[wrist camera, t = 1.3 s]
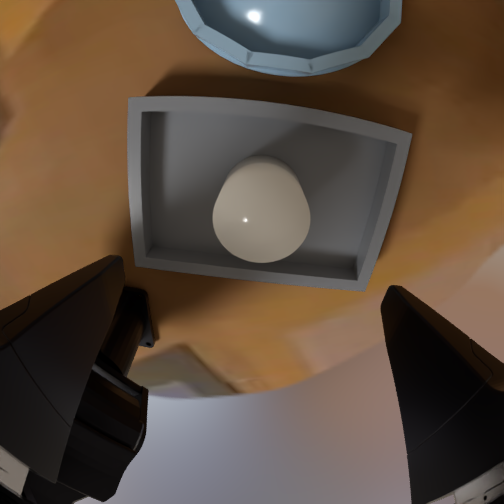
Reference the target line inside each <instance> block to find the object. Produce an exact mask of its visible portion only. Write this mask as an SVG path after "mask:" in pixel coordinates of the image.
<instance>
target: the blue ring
mask: <svg viewBox="0 0 504 504" xmlns="http://www.w3.org/2000/svg"><path fill="white" fill-rule="evenodd" d="M175 1H176V3H177V5H178V7H179V10H180V12H181V14H182V16H183V19H184V20H185V22H186V24H187V25H188V27H189V28H190V30H191V31H192V33H193V34H194V35H195V36H196V37H197V38H198V39H199V40H200V41H202V42H203V43H204V44H205V45H206V46H207V47H208V48H210V49H211V50H212V51H214V52H215V53H217V54H218V55H220V56H221V57H223V58H225V59H227V60H229V61H230V62H232V63H234V64H237V65H239V66H242V67H244V68H247V69H250V70H254V71H257V72H260V73H265V74H271V75H276V76H288V77H307V76H315V75H322V74H326V73H330V72H335V71H337V70H340V69H343V68H346V67H349V66H351V65H353V64H355V63H357V62H359V61H361V60H362V59H366V58H369V57H370V56H371V55H372V53H373V52H374V51H375V50H376V49H377V48H378V47H379V46H380V45H381V44H382V42H383V41H384V40H385V39H386V38H387V37H388V36H389V35H390V34H391V33H392V32H393V31H394V29H395V28H396V27H397V26H398V25H399V24H400V23H401V12H402V0H175Z"/></svg>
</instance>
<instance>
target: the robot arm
mask: <svg viewBox="0 0 504 504" xmlns="http://www.w3.org/2000/svg"><path fill="white" fill-rule="evenodd" d="M124 284H125V273H124V266H123V260H122V258H121V257H120V256H116V255H108V256H106V257H104V258H102V259H100V260H98V261H96V262H94V263H92V264H90V265H88V266H86V267H84V268H82V269H80V270H77V271H75V272H73V273H71V274H69V275H67V276H65V277H64V278H62V279H60V280H58V281H56V282H54V283H52V284H50V285H48V286H46V287H44V288H42V289H40V290H38V291H37V292H35V293H33V294H31V296H30V295H29V296H27V297H25V298H23V299H22V300H20V301H18V302H16V303H14V304H12V305H10V306H8V307H6V308H4V309H2V310H0V504H74V503H75V502H77V501H79V500H82V499H84V498H86V497H91V498H94V499H96V500H99V501H101V502H105V501H107V500H108V499H109V498H111V497H112V496H113V495H114V494H115V493H116V490H117V488H118V485H119V482H120V480H121V478H122V475H123V473H124V471H125V470H126V468H127V466H128V465H129V463H130V462H131V461H132V460H133V458H134V457H135V456H136V455H137V453H138V452H139V450H140V449H141V447H142V445H143V442H144V439H145V435H146V427H147V405H148V389H146V388H145V387H143V386H139V385H138V384H136V383H135V382H133V381H132V380H130V379H129V378H127V374H128V372H129V369H130V367H131V364H132V361H133V359H134V356H135V354H136V351H137V349H138V346H144V347H149V348H152V347H153V346H154V344H155V340H154V334H153V328H152V322H151V316H150V310H149V303H148V296H147V293H146V292H145V291H144V290H142V289H137V288H130V287H124ZM140 295H141V296H142V297H141V296H140ZM381 316H382V322H383V328H384V335H385V342H386V347H387V352H388V356H389V360H390V364H391V369H392V373H393V377H394V382H395V387H396V392H397V397H398V401H399V407H400V412H401V418H402V424H403V430H404V436H405V443H406V450H407V454H408V455H407V459H408V468H409V477H410V488H411V500H412V504H430V503H432V502H435V501H438V500H440V499H443V498H445V497H448V496H450V495H454V500H455V504H504V363H502V362H501V361H499V360H498V359H497V358H495V357H494V356H493V355H491V354H490V353H489V352H487V351H486V350H485V349H484V348H482V347H481V346H480V345H478V344H477V343H476V342H475V341H473V340H472V339H470V338H469V337H468V336H467V335H466V334H465V333H463V332H462V331H461V330H459V329H458V328H457V327H455V326H454V325H453V324H451V323H450V322H449V321H448V320H447V319H445V318H444V317H442V316H441V315H440V314H439V313H437V312H436V311H435V310H433V309H432V308H431V307H429V306H428V305H427V304H425V303H424V302H422V301H421V300H420V299H418V298H417V297H416V296H414V295H413V294H412V293H410V292H409V291H407V290H406V289H405V288H403V287H402V286H397V285H391V286H389V288H388V290H387V292H386V294H385V296H384V299H383V301H382V303H381Z"/></svg>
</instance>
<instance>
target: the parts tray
mask: <svg viewBox="0 0 504 504" xmlns="http://www.w3.org/2000/svg"><path fill="white" fill-rule="evenodd" d="M411 138H412V134H411V133H408V132H406V131H403V130H400V129H397V128H393V127H390V126H387V125H383V124H379V123H376V122H372V121H368V120H364V119H360V118H356V117H352V116H347V115H343V114H338V113H334V112H329V111H324V110H319V109H313V108H308V107H302V106H295V105H289V104H282V103H275V102H267V101H258V100H249V99H238V98H224V97H206V96H141V97H129V99H128V133H127V153H128V187H129V205H130V219H131V231H132V241H133V251H134V259H135V266H136V267H144V268H151V269H158V270H166V271H174V272H181V273H189V274H197V275H206V276H214V277H222V278H231V279H240V280H249V281H258V282H267V283H277V284H287V285H297V286H307V287H318V288H329V289H340V290H352V291H364V292H365V290H366V287H367V285H368V282H369V279H370V277H371V274H372V271H373V269H374V266H375V263H376V261H377V258H378V255H379V252H380V249H381V246H382V243H383V240H384V237H385V234H386V231H387V228H388V225H389V222H390V219H391V215H392V212H393V209H394V205H395V202H396V198H397V195H398V191H399V188H400V184H401V180H402V176H403V172H404V168H405V164H406V160H407V156H408V151H409V147H410V142H411ZM256 155H268V156H272V157H276V158H278V159H280V160H282V161H284V162H285V163H287V164H288V165H289V166H290V167H291V168H292V169H293V171H294V172H295V174H296V176H297V178H298V180H299V182H300V185H301V187H302V190H303V193H304V195H305V198H306V200H307V203H308V206H309V209H310V227H309V231H308V234H307V236H306V238H305V240H304V241H303V243H302V244H301V245H300V247H299V248H298V249H297V250H295V251H294V252H293V253H292V254H290V255H289V256H287V257H285V258H283V259H280V260H277V261H274V262H268V263H256V262H250V261H246V260H243V259H241V258H239V257H237V256H235V255H233V254H232V253H231V252H229V251H228V250H227V249H226V248H225V247H224V246H223V245H222V244H221V242H220V241H219V239H218V237H217V235H216V233H215V230H214V227H213V209H214V206H215V203H216V200H217V198H218V196H219V193H220V191H221V189H222V187H223V184H224V182H225V180H226V177H227V175H228V174H229V172H230V170H231V169H232V168H233V167H234V166H235V165H236V164H237V163H239V162H240V161H242V160H244V159H246V158H248V157H251V156H256Z"/></svg>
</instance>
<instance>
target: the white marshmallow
mask: <svg viewBox="0 0 504 504" xmlns="http://www.w3.org/2000/svg"><path fill="white" fill-rule="evenodd" d="M213 227H214V230H215V233H216V235H217V237H218V239H219V241H220V242H221V244H222V245H223V246H224V247H225V248H226V249H227V250H228V251H229V252H231V253H232V254H233V255H235V256H237V257H239V258H241V259H243V260H246V261H250V262H256V263H268V262H274V261H277V260H280V259H283V258H285V257H287V256H289V255H290V254H292V253H293V252H294V251H295V250H297V249H298V248H299V247H300V245H301V244H302V243H303V241H304V240H305V238H306V236H307V234H308V231H309V227H310V209H309V206H308V203H307V200H306V198H305V195H304V193H303V190H302V187H301V185H300V182H299V180H298V178H297V176H296V174H295V172H294V171H293V169H292V168H291V167H290V166H289V165H288V164H287V163H285V162H284V161H282V160H280V159H278V158H276V157H272V156H268V155H256V156H251V157H248V158H246V159H244V160H242V161H240V162H239V163H237V164H236V165H235V166H234V167H233V168H232V169H231V170H230V172H229V174H228V175H227V177H226V180H225V182H224V184H223V187H222V189H221V191H220V193H219V196H218V198H217V200H216V203H215V206H214V209H213Z"/></svg>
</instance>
